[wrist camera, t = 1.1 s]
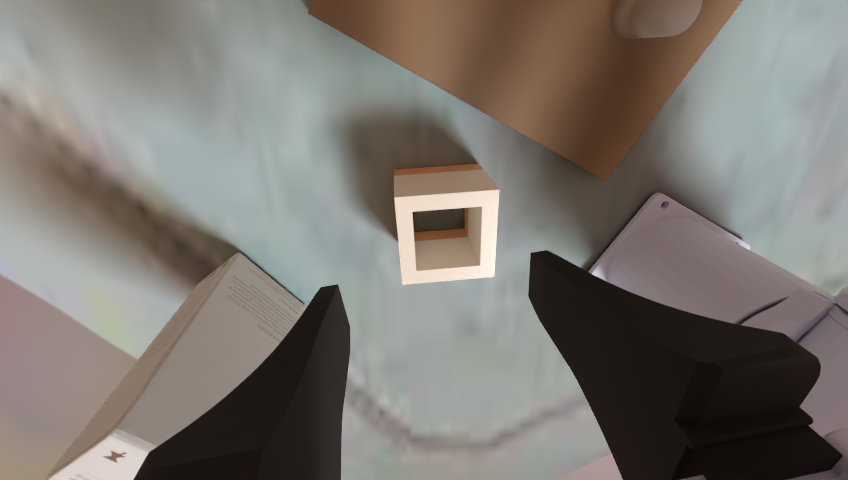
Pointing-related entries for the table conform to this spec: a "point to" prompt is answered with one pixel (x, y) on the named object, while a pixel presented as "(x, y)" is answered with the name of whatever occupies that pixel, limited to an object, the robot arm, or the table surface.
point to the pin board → (545, 60)
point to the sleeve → (446, 249)
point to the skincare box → (184, 370)
